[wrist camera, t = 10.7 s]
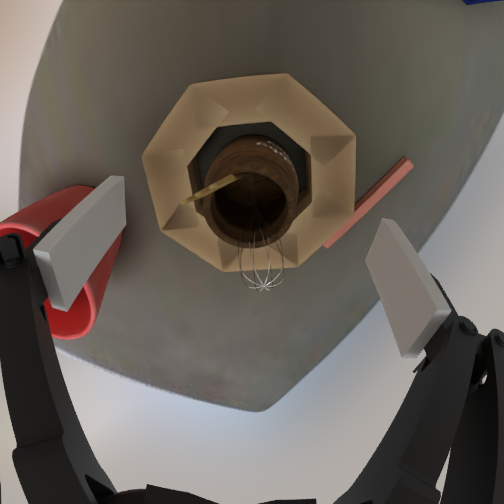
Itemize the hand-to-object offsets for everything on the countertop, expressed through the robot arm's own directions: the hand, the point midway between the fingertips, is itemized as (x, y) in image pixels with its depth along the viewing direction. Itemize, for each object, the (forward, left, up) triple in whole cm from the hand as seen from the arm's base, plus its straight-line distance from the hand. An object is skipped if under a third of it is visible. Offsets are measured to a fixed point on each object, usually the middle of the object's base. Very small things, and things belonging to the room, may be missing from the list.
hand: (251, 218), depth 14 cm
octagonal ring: (0, 0, -9) cm, 9 cm away
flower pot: (+13, -9, -9) cm, 18 cm away
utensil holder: (0, 0, -9) cm, 9 cm away
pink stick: (-4, +9, -9) cm, 13 cm away
